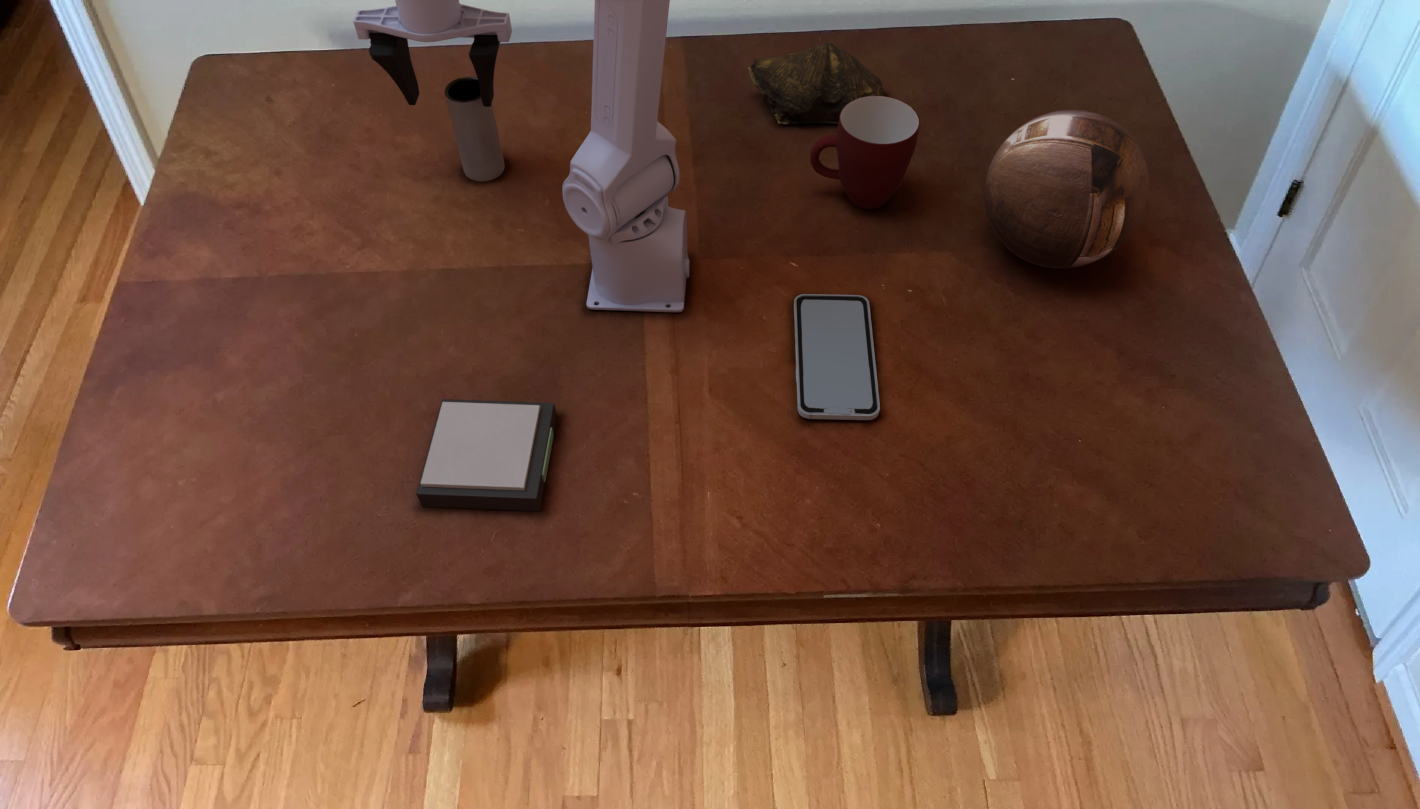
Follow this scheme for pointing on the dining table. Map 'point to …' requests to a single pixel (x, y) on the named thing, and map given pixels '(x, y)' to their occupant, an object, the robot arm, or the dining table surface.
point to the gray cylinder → (474, 130)
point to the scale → (488, 455)
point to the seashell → (812, 84)
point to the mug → (870, 148)
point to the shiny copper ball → (1066, 189)
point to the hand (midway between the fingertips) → (451, 100)
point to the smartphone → (835, 358)
